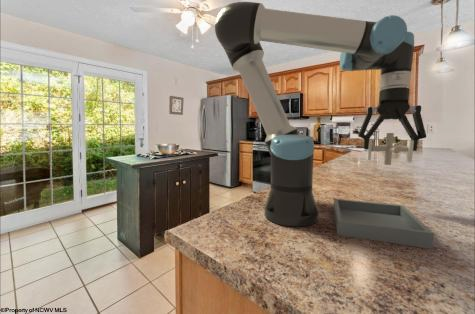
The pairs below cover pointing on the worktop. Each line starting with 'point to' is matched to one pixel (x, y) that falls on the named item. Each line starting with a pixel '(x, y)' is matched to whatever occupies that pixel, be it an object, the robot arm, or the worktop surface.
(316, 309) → the worktop surface
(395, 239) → the tray
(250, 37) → the robot arm
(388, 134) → the pipe connector
